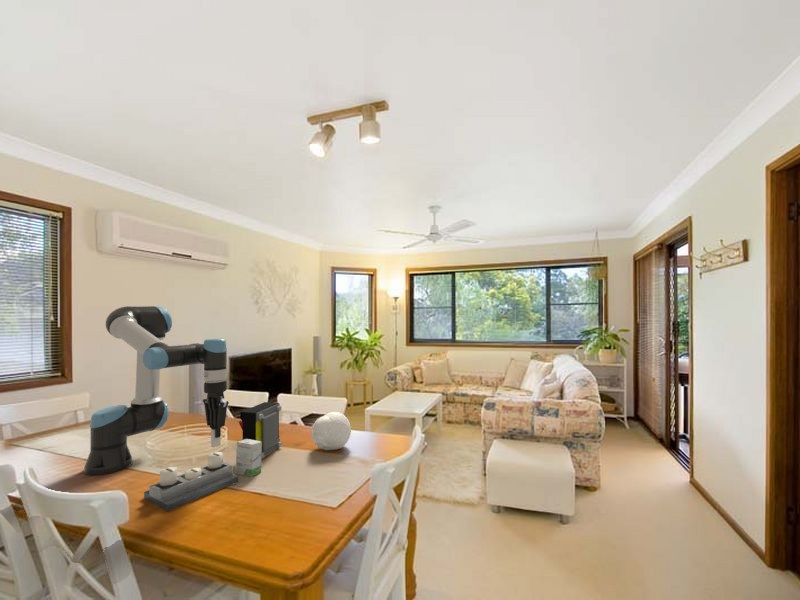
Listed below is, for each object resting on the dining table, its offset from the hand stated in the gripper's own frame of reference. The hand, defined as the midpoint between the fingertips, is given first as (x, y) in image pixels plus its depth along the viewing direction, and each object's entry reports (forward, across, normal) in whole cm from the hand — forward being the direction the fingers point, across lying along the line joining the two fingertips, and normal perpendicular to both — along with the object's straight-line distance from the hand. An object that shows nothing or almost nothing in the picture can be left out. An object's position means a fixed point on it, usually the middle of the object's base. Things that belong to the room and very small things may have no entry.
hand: (215, 445), depth 138 cm
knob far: (+7, 0, 0) cm, 7 cm away
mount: (+13, 0, -8) cm, 15 cm away
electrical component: (+13, -9, +26) cm, 30 cm away
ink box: (+13, +4, +11) cm, 17 cm away
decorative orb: (+13, +14, +46) cm, 50 cm away
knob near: (+7, 0, -16) cm, 18 cm away
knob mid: (+10, 0, -8) cm, 13 cm away
